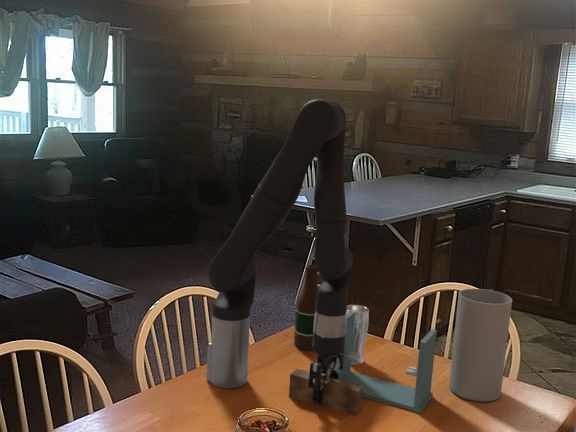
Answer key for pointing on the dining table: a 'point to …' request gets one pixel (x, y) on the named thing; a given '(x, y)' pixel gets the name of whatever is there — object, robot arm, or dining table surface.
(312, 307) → the beer bottle
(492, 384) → the cylinder vase
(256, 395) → the dining table surface
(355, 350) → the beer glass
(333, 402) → the walnut plank
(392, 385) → the shelf stand
